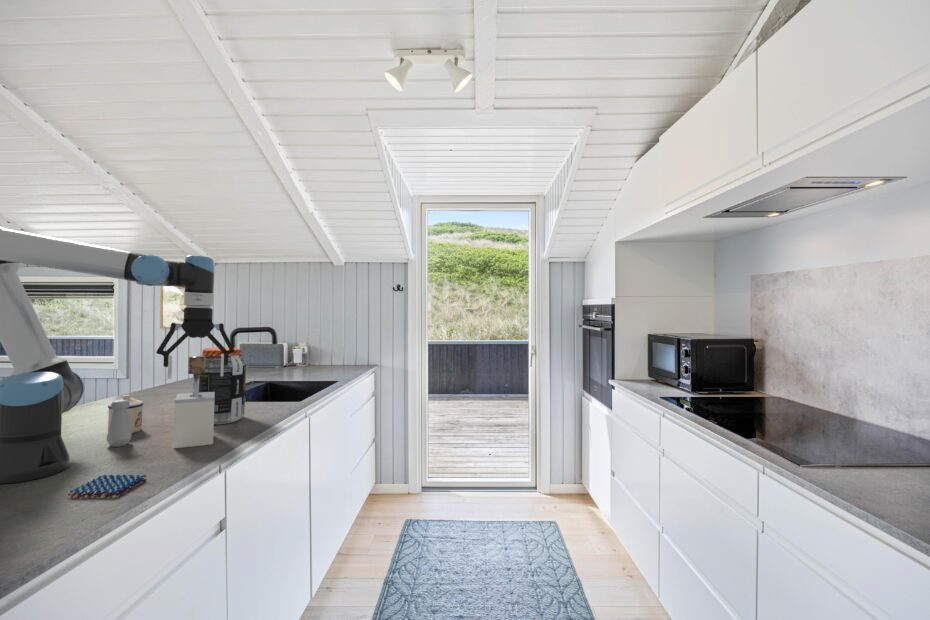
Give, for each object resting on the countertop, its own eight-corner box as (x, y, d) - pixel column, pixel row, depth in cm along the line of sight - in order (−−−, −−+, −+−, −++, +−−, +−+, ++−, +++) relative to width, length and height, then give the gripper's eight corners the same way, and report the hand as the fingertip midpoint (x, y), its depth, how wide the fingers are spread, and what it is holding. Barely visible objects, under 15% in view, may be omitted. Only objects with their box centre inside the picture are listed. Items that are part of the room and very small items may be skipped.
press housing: (173, 448, 127) (174, 400, 127) (176, 439, 136) (177, 393, 136) (213, 444, 132) (214, 397, 132) (213, 435, 140) (214, 391, 140)
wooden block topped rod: (179, 440, 129) (182, 358, 129) (181, 433, 135) (183, 355, 135) (207, 437, 132) (210, 357, 132) (208, 431, 139) (210, 355, 139)
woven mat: (101, 481, 103) (101, 473, 103) (148, 482, 104) (148, 473, 104) (64, 501, 93) (64, 491, 93) (117, 501, 94) (117, 491, 94)
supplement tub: (253, 419, 161) (255, 349, 161) (209, 428, 148) (211, 351, 148) (229, 412, 170) (231, 346, 170) (185, 420, 156) (187, 348, 156)
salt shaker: (102, 445, 127) (103, 400, 127) (125, 440, 132) (126, 397, 132) (112, 449, 125) (114, 403, 125) (135, 443, 130) (136, 399, 130)
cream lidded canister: (142, 432, 141) (143, 396, 141) (105, 437, 135) (107, 399, 135) (142, 424, 150) (143, 390, 150) (108, 427, 145) (109, 392, 145)
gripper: (146, 305, 124) (144, 380, 124) (245, 308, 136) (242, 376, 136) (150, 305, 131) (147, 376, 131) (243, 308, 143) (241, 373, 143)
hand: (196, 376), depth 134 cm, fingers open, 13 cm apart
